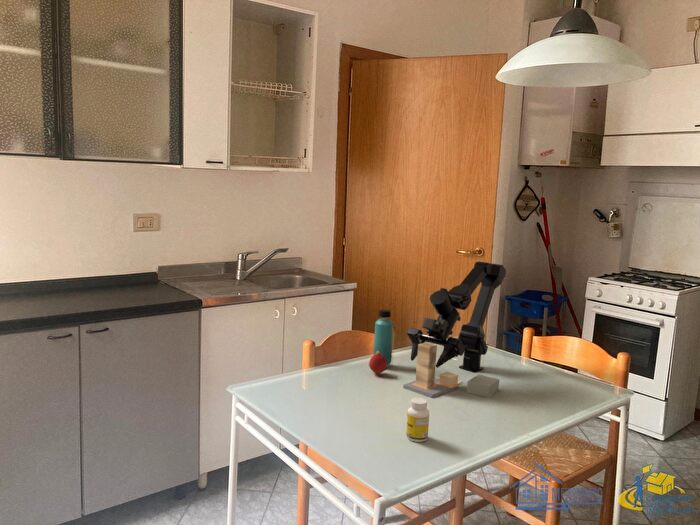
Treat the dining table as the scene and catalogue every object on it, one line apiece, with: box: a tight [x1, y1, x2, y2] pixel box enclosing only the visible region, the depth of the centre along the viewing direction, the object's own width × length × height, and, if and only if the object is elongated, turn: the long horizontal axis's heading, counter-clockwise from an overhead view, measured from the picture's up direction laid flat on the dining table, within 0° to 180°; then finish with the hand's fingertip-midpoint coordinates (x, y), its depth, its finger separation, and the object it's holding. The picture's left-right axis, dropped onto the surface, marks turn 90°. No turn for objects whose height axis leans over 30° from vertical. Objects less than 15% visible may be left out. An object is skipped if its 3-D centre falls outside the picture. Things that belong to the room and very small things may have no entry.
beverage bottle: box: [373, 309, 394, 366], centre depth 202 cm, size 6×7×20 cm
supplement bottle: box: [405, 397, 430, 443], centre depth 146 cm, size 5×5×10 cm
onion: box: [368, 351, 388, 376], centre depth 193 cm, size 6×6×8 cm
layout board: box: [402, 371, 462, 399], centre depth 184 cm, size 15×12×4 cm
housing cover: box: [466, 373, 500, 398], centre depth 183 cm, size 9×7×4 cm
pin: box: [415, 341, 438, 388], centre depth 182 cm, size 4×4×13 cm
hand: (423, 363), depth 181 cm, fingers open, 9 cm apart
